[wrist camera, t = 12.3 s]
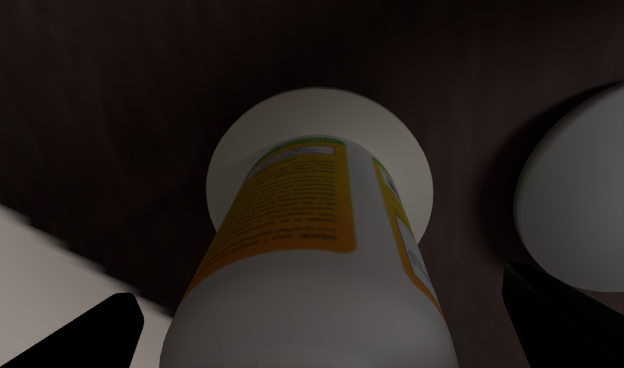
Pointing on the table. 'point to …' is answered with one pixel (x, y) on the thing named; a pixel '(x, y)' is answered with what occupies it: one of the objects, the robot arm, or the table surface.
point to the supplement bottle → (312, 272)
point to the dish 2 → (577, 196)
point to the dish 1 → (321, 121)
